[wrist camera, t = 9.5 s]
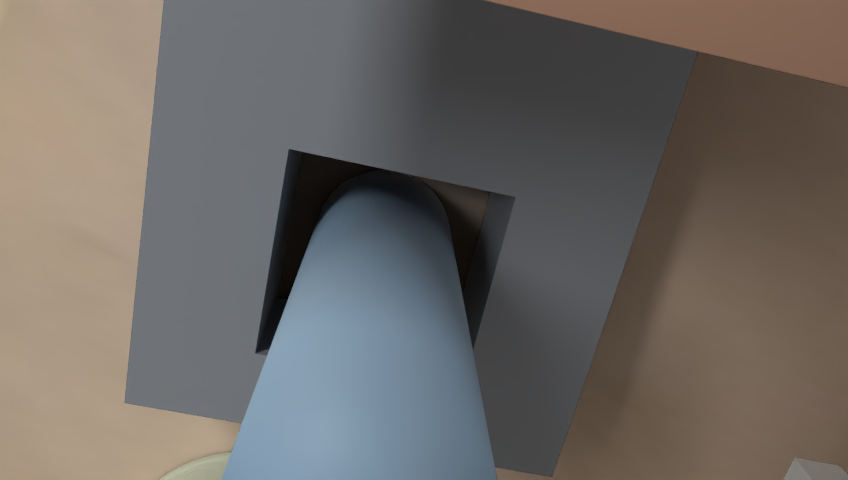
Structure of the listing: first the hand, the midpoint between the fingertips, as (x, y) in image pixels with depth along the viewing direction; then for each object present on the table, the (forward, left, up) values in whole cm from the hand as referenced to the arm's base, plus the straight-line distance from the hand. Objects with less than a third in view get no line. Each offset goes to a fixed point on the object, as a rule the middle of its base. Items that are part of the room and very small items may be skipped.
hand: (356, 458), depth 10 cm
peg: (0, 0, -11) cm, 11 cm away
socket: (-3, 0, -11) cm, 12 cm away
